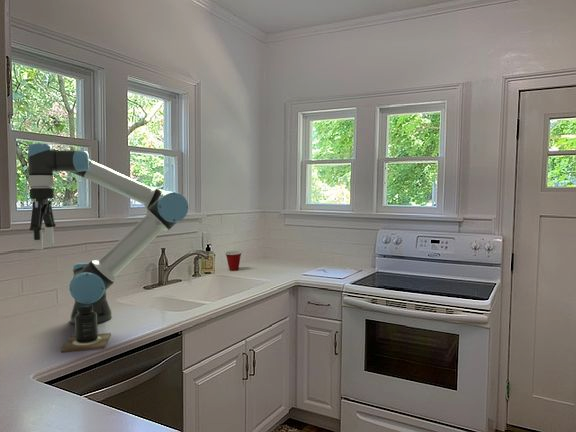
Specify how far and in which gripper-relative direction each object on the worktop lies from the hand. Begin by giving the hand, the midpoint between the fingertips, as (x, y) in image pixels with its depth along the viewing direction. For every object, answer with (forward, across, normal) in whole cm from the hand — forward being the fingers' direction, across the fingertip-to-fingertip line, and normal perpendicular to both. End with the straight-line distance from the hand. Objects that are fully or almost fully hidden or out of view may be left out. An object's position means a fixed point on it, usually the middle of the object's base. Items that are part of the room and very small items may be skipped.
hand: (44, 247), depth 157 cm
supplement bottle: (+31, +15, +16) cm, 38 cm away
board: (+32, +15, +16) cm, 39 cm away
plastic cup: (+32, -108, +81) cm, 139 cm away
